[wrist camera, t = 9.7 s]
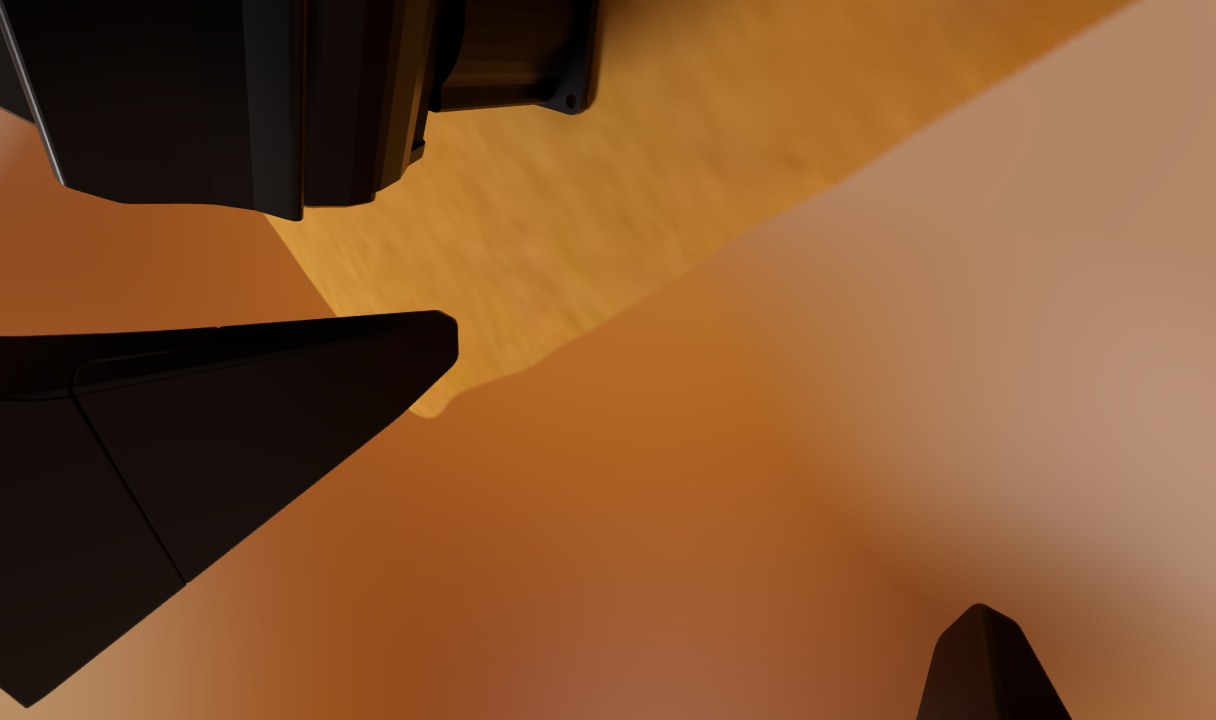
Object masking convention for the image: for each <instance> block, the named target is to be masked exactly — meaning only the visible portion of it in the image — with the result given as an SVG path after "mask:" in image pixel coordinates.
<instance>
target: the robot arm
mask: <svg viewBox="0 0 1216 720" xmlns="http://www.w3.org/2000/svg"><path fill="white" fill-rule="evenodd" d="M597 8H598V0H0V109H2V110H4V111H6V112H8V113H10V114H12V115H14V116H16V117H18V118H20V119H22V120H24V121H26V122H28V123H30V124H32V125H34V126H36V127H37V129H38V132H39V134H40V137H41V140H42V143H43V145H44V148H45V151H46V154H47V156H48V159H49V162H50V165H51V167H52V170H53V173H54V176H55V178H56V179H57V181H59V182H60V183H62V184H63V185H64V186H66V187H68V188H71V189H74V190H78V191H81V192H84V193H88V194H91V195H94V196H98V197H101V198H104V199H108V200H111V201H115V202H119V203H125V204H126V203H127V204H214V205H222V206H229V207H235V208H242V209H249V210H255V211H259V212H262V213H266V214H269V215H273V216H276V217H280V218H283V219H287V220H291V221H301V220H302V219H303V207H308V208H346V207H351V206H357V205H363V204H367V203H370V202H372V201H374V200H375V198H376V192H377V191H381V190H382V189H384V188H386V187H388V186H389V185H391V184H393V183H395V182H396V181H398V180H400V178H401V177H402V175H403V173H404V172H405V170H406V168H407V167H408V166H409V165H410V164H412V163H414V162H415V161H417V160H418V159H420V158H422V156H423V153H424V147H425V141H424V140H423V136H424V131H425V125H426V120H427V115H428V110H429V111H432V112H435V113H437V112H449V111H461V110H473V109H485V108H498V107H510V106H522V105H534V104H535V105H538V106H541V107H545V108H548V109H552V110H555V111H558V112H562V113H565V114H569V115H577V114H581V113H582V112H583V111H584V110H585V109H586V105H587V99H588V90H589V81H590V72H591V62H592V53H593V44H594V35H595V26H596V17H597ZM573 95H574V96H575V98H576V105H575V107H574V106H573V104H572V96H573ZM458 355H459V347H458V324H457V322H456V320H455V319H454V318H453V317H451V316H449V315H448V314H446V313H444V312H442V311H439V310H428V311H415V312H402V313H389V314H376V315H363V316H350V317H337V318H324V319H311V320H299V321H285V322H272V323H259V324H246V325H233V326H222V327H219V328H217V327H206V328H192V329H179V330H163V331H143V332H121V333H93V334H63V335H33V336H0V688H1V689H2V690H3V691H4V692H6V693H7V694H8V695H10V696H11V697H12V698H13V699H14V700H16V701H17V702H18V703H19V704H21V705H22V706H23V707H24V708H29V707H30V706H32V705H33V704H35V703H37V702H38V701H40V700H41V699H42V698H44V697H45V696H47V695H48V694H49V693H50V692H52V691H53V690H54V689H56V688H57V687H58V686H59V685H61V684H62V683H63V682H65V681H66V680H67V679H68V678H69V677H71V676H72V675H73V674H75V673H76V672H77V671H78V670H80V669H81V668H82V667H84V666H85V665H86V664H87V663H89V662H90V661H91V660H92V659H94V658H95V657H96V656H97V655H99V654H100V653H101V652H103V651H104V650H105V649H106V648H107V647H109V646H110V645H111V644H113V643H114V642H115V641H116V640H118V639H119V638H120V637H121V636H123V635H124V634H125V633H127V632H128V631H129V630H130V629H132V628H133V627H134V626H135V625H137V624H138V623H139V622H140V621H142V620H143V619H144V618H146V617H147V616H148V615H149V614H151V613H152V612H153V611H154V610H156V609H157V608H158V607H160V606H161V605H162V604H163V603H165V602H166V601H167V600H168V599H170V598H171V597H172V596H173V595H175V594H176V593H177V592H179V591H180V590H181V589H182V588H184V587H185V586H186V584H187V583H189V582H191V581H192V580H193V579H194V578H196V577H197V576H198V575H199V574H201V573H202V572H203V571H205V570H206V569H207V568H208V567H210V566H211V565H212V564H214V563H215V562H216V561H217V560H218V559H220V558H221V557H222V556H224V555H225V554H226V553H227V552H229V551H230V550H231V549H233V548H234V547H235V546H236V545H238V544H239V543H240V542H241V541H243V540H244V539H245V538H246V537H248V536H249V535H250V534H252V533H253V532H254V531H255V530H257V529H258V528H259V527H260V526H262V525H263V524H264V523H266V522H267V521H268V520H269V519H271V518H272V517H273V516H274V515H276V514H277V513H278V512H280V511H281V510H282V509H283V508H285V507H286V506H287V505H288V504H290V503H291V502H292V501H293V500H295V499H296V498H297V497H298V496H300V495H301V494H302V493H304V492H305V491H306V490H307V489H309V488H310V487H311V486H312V485H314V484H315V483H316V482H318V481H319V480H320V479H321V478H323V477H324V476H325V475H326V474H328V473H329V472H330V471H331V470H333V469H334V468H335V467H337V466H338V465H339V464H340V463H342V462H343V461H344V460H345V459H347V458H348V457H349V456H351V455H352V454H353V453H354V452H356V451H357V450H358V449H359V448H361V447H362V446H363V445H364V444H366V443H367V442H368V441H370V440H371V439H372V438H373V437H375V436H376V435H377V434H378V433H380V432H381V431H382V430H384V429H385V428H386V427H387V426H389V425H390V424H391V423H392V422H394V421H395V420H396V419H397V418H398V417H399V416H401V415H402V414H403V413H404V412H405V411H406V410H407V409H408V408H409V407H410V406H411V405H413V404H414V403H415V402H416V401H417V400H418V399H419V398H420V397H421V396H422V395H423V394H424V393H425V392H426V391H427V390H428V389H429V388H430V387H431V386H432V385H433V384H434V383H436V382H437V381H438V380H439V379H440V378H441V377H442V376H443V375H444V374H445V373H446V372H447V371H448V370H449V369H450V368H451V367H452V366H453V365H454V364H455V362H456V361H457V358H458ZM916 720H1072V718H1071V717H1070V715H1069V713H1068V711H1067V710H1066V708H1065V706H1064V705H1063V702H1062V701H1061V699H1060V697H1059V695H1058V694H1057V692H1056V690H1055V688H1054V686H1053V685H1052V683H1051V681H1050V679H1049V677H1048V676H1047V674H1046V672H1045V670H1044V669H1043V667H1042V665H1041V663H1040V661H1039V660H1038V658H1037V656H1036V654H1035V653H1034V651H1033V649H1032V647H1031V645H1030V644H1029V642H1028V640H1027V638H1026V636H1025V635H1024V633H1023V631H1022V630H1021V628H1020V626H1019V625H1018V624H1017V623H1016V622H1015V621H1014V620H1013V619H1011V618H1009V617H1007V616H1005V615H1004V614H1002V613H1000V612H998V611H996V610H994V609H992V608H991V607H989V606H987V605H985V604H981V603H977V604H974V605H972V606H971V607H969V608H968V609H967V610H966V611H965V612H964V613H963V614H962V615H961V616H960V617H959V618H958V619H957V620H956V621H955V622H954V623H952V625H950V626H949V627H948V628H947V629H946V630H945V631H944V632H943V633H942V634H941V636H940V637H939V639H938V641H937V643H936V645H935V648H934V651H933V656H932V659H931V663H930V667H929V671H928V675H927V679H926V683H925V687H924V691H923V695H922V699H921V703H920V706H919V710H918V714H917V718H916Z"/></svg>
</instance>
